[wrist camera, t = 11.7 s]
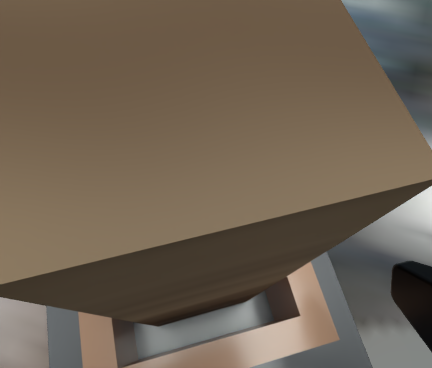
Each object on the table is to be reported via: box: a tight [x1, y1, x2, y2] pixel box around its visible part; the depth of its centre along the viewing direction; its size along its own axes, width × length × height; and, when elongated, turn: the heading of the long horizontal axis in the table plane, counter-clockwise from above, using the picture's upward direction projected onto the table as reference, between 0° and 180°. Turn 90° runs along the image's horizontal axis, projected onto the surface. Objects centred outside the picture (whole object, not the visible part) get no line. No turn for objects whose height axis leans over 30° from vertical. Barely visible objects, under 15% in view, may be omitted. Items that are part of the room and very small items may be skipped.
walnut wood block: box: [0, 0, 432, 327], centre depth 9 cm, size 4×4×13 cm
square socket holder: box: [46, 251, 373, 368], centre depth 14 cm, size 13×13×5 cm
